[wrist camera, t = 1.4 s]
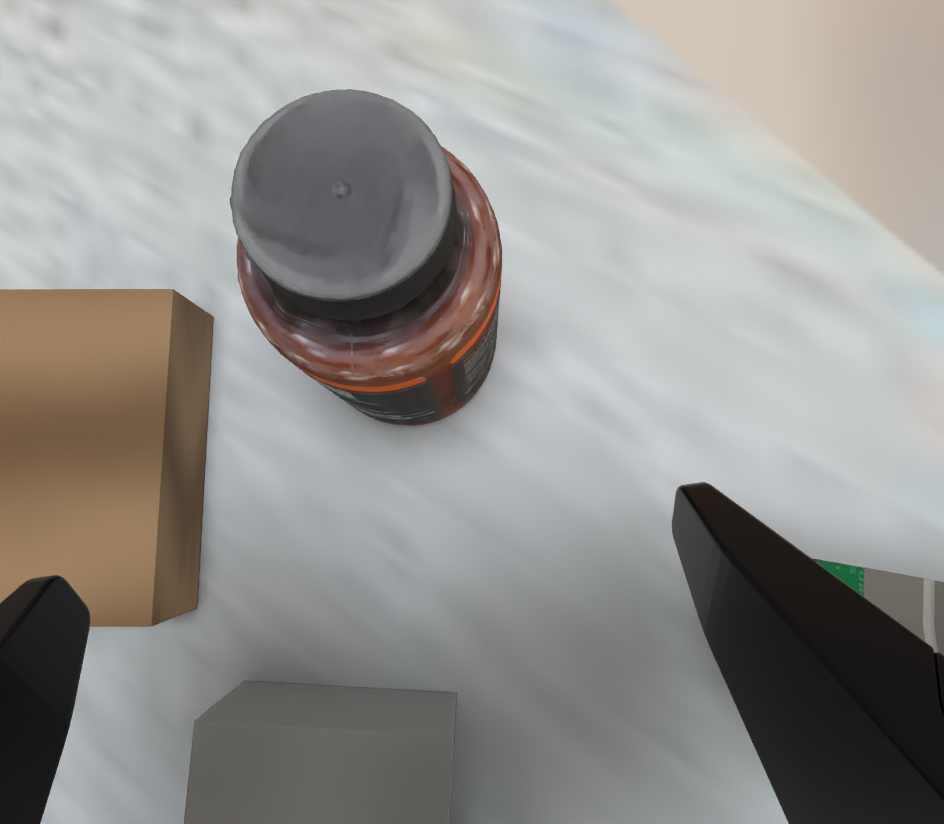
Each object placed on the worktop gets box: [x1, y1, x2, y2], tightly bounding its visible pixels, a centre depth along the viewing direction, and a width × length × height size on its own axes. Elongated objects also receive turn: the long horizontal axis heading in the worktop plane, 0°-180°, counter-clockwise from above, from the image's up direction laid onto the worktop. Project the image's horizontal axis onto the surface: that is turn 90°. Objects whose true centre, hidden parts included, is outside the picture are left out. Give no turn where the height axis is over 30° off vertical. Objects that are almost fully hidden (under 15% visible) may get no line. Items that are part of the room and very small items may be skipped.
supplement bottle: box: [230, 89, 502, 425], centre depth 17 cm, size 6×6×11 cm
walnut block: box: [0, 289, 213, 626], centre depth 20 cm, size 10×10×3 cm
